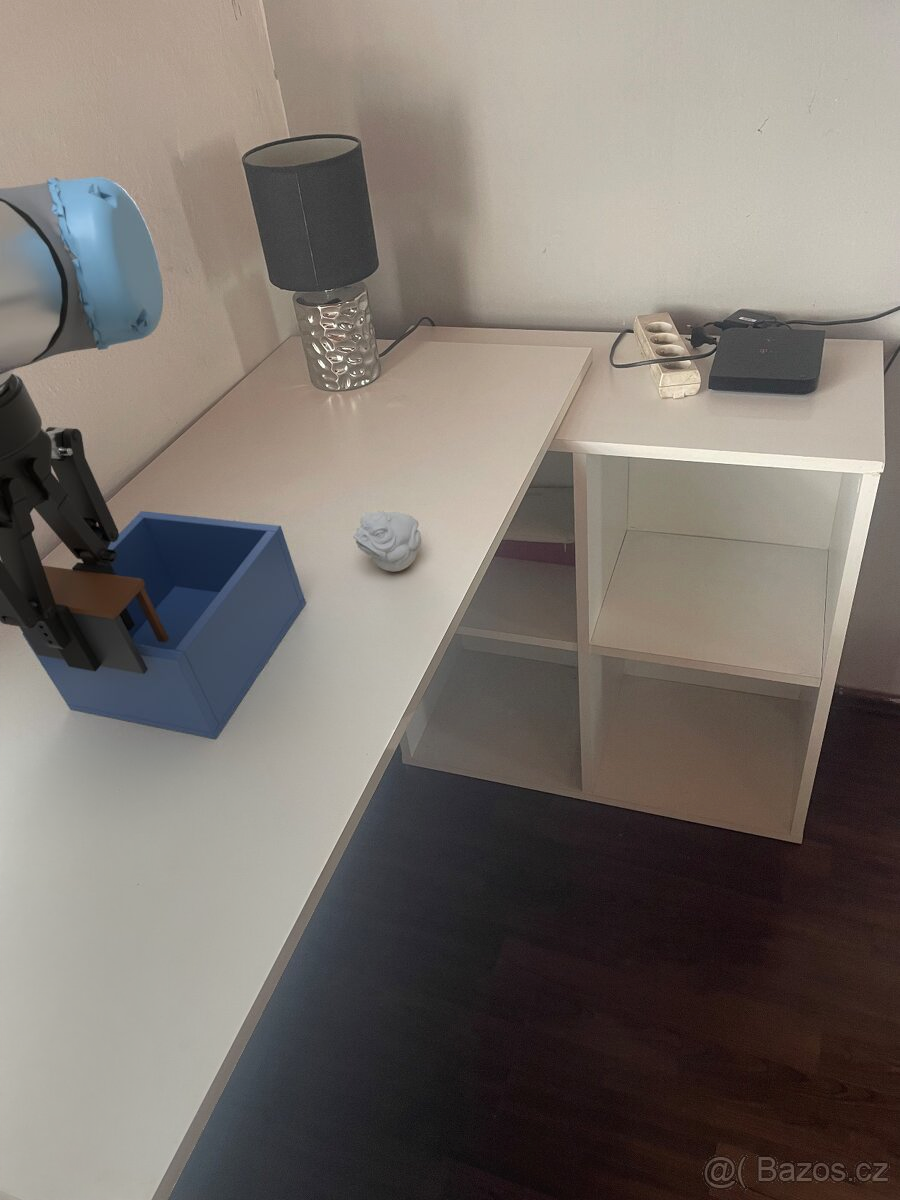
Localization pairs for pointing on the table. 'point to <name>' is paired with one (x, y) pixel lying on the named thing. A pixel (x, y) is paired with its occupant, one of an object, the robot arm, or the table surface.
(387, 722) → the table surface
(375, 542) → the frog figurine
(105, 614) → the two-tone wooden bracket
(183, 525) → the bin
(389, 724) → the table surface
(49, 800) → the table surface
